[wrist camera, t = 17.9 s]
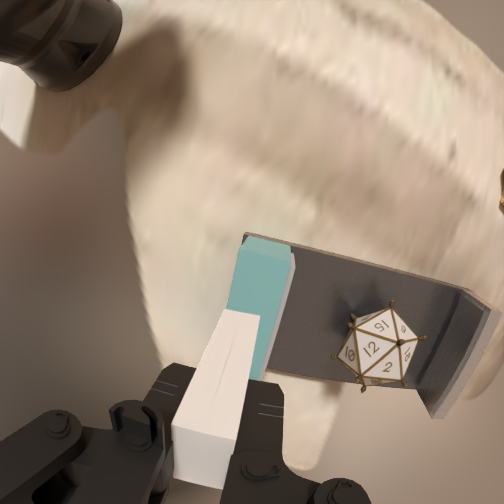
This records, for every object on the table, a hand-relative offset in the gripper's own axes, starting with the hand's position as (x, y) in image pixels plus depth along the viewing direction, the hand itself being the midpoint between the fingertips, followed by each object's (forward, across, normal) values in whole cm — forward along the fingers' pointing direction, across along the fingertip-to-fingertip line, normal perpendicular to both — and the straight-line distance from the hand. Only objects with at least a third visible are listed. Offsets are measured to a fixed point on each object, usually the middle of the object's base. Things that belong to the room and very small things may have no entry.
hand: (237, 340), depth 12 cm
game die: (+17, +12, -6) cm, 22 cm away
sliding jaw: (+16, 0, -6) cm, 17 cm away
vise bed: (+18, +11, -7) cm, 22 cm away
